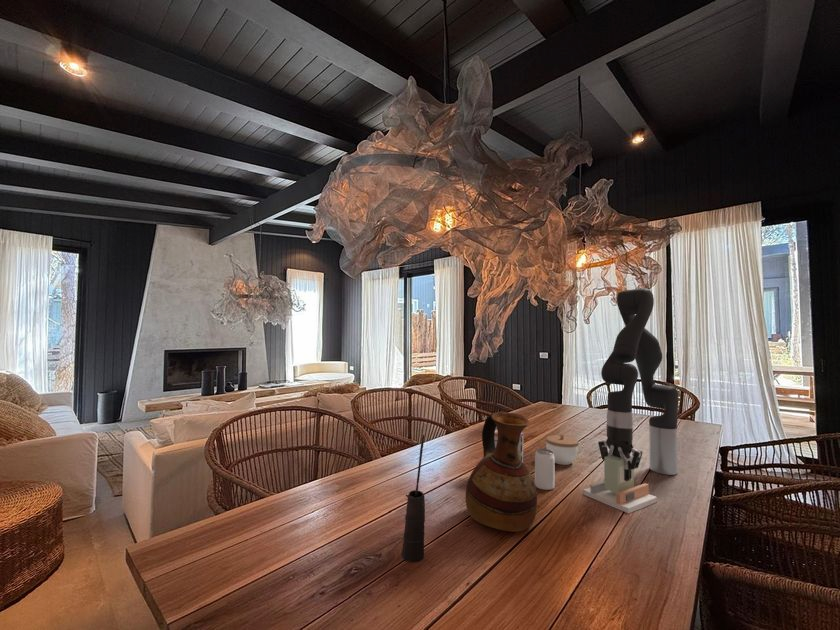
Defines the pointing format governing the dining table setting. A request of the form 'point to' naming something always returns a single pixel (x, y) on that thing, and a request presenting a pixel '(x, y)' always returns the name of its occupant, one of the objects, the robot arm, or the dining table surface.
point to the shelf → (622, 497)
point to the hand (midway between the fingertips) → (619, 477)
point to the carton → (616, 474)
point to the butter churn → (414, 522)
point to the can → (544, 469)
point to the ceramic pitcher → (502, 478)
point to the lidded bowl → (562, 448)
